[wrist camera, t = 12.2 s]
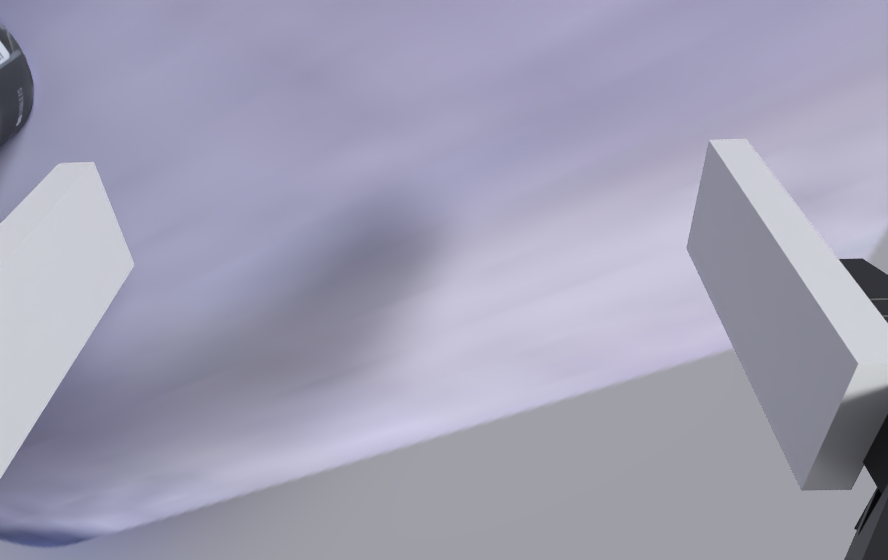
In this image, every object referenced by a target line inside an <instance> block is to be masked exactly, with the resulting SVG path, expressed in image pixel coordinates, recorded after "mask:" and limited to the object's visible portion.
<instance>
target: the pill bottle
mask: <svg viewBox="0 0 888 560" xmlns="http://www.w3.org/2000/svg"><path fill="white" fill-rule="evenodd" d="M32 103H33V80H32V76H31V72H30V69H29V66H28V64H27V61H26V58H25V56H24V54H23V52H22V50H21V48H20V47H19V45H18V43H17V42H16V40H15V39H14V37H13V36H12V35H11V34H10V32H9V31H8V30H7V29H6V27H5V26H4V25H3V24H2V23H1V22H0V146H2V145H3V144H4V143H5V142H6V141H7V140H8V139H9V138H10V137H12V136H13V135H14V134H15V133H17V132H18V131H19V130H20V128H21V127H22V126H23V125H24V123H25V122H26V120H27V118H28V117H29V114H30V111H31V108H32Z"/></svg>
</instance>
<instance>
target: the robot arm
mask: <svg viewBox="0 0 888 560" xmlns="http://www.w3.org/2000/svg"><path fill="white" fill-rule="evenodd" d="M687 250H688V253H689V255H690V257H691V259H692V261H693V263H694V265H695V267H696V269H697V271H698V274H699V276H700V278H701V280H702V282H703V284H704V286H705V288H706V290H707V293H708V295H709V297H710V299H711V301H712V303H713V305H714V307H715V309H716V312H717V314H718V316H719V318H720V320H721V322H722V324H723V326H724V328H725V330H726V333H727V335H728V337H729V339H730V341H731V343H732V345H733V347H734V349H735V352H736V354H737V356H738V358H739V360H740V362H741V364H742V366H743V368H744V370H745V373H746V375H747V377H748V379H749V381H750V383H751V385H752V387H753V389H754V392H755V394H756V396H757V398H758V400H759V402H760V404H761V406H762V408H763V410H764V413H765V415H766V417H767V419H768V421H769V423H770V425H771V427H772V429H773V432H774V434H775V436H776V438H777V440H778V442H779V444H780V446H781V448H782V451H783V453H784V455H785V457H786V459H787V461H788V463H789V465H790V467H791V470H792V472H793V474H794V476H795V478H796V480H797V482H798V484H799V486H800V489H801V490H851V489H852V487H853V485H854V483H855V482H856V480H857V478H858V476H859V474H860V472H861V470H862V468H863V466H864V465H865V466H866V468H867V470H868V472H869V473H870V475H871V477H872V479H873V480H874V482H875V484H876V486H877V489H876V490H875V492H874V494H873V496H872V498H871V499H870V501H869V503H868V505H867V506H866V508H865V510H864V512H863V514H862V516H861V517H860V519H859V521H858V523H857V525H856V526H855V529H856V530H857V532H856V534H855V536H854V538H853V541H852V543H851V545H850V548H849V551H848V552H847V555H846V557H845V559H844V560H888V275H887V274H885V273H884V272H882V271H881V270H879V269H878V268H876V267H875V266H873V265H872V264H870V263H868V262H867V261H865V260H864V259H838V258H837V256H836V255H835V254H834V253H833V251H832V250H831V249H830V247H829V246H828V245H827V243H826V242H825V241H824V240H823V238H822V237H821V236H820V234H819V233H818V232H817V230H816V229H815V228H814V226H813V225H812V224H811V223H810V221H809V220H808V219H807V217H806V216H805V215H804V213H803V212H802V211H801V210H800V208H799V207H798V206H797V204H796V203H795V202H794V200H793V199H792V198H791V197H790V195H789V194H788V193H787V191H786V190H785V189H784V187H783V186H782V185H781V183H780V182H779V181H778V180H777V178H776V177H775V176H774V174H773V173H772V172H771V170H770V169H769V168H768V167H767V165H766V164H765V163H764V161H763V160H762V159H761V157H760V156H759V155H758V153H757V152H756V151H755V150H754V148H753V147H752V146H751V144H750V143H749V142H748V140H747V139H725V140H709V143H708V148H707V152H706V157H705V162H704V167H703V172H702V176H701V181H700V186H699V191H698V196H697V200H696V205H695V210H694V215H693V220H692V224H691V229H690V234H689V239H688V244H687ZM133 267H134V262H133V260H132V257H131V255H130V252H129V250H128V247H127V244H126V242H125V239H124V237H123V234H122V232H121V229H120V227H119V224H118V222H117V219H116V217H115V214H114V212H113V209H112V207H111V204H110V202H109V199H108V196H107V194H106V191H105V189H104V186H103V184H102V181H101V179H100V176H99V174H98V171H97V169H96V166H95V164H94V162H78V163H59V164H58V165H57V166H56V167H55V168H54V169H53V170H52V171H51V172H50V173H49V174H48V175H47V176H46V177H45V178H44V179H43V180H42V181H41V182H40V183H39V184H38V185H37V187H36V188H35V189H34V190H33V191H32V192H31V193H30V194H29V195H28V196H27V197H26V198H25V199H24V200H23V201H22V202H21V203H20V204H19V205H18V206H17V207H16V208H15V209H14V210H13V211H12V212H11V213H10V214H9V215H8V216H7V217H6V218H5V219H4V221H3V222H2V223H1V224H0V478H1V477H2V475H3V474H4V472H5V471H6V469H7V467H8V466H9V464H10V463H11V461H12V459H13V458H14V456H15V455H16V453H17V451H18V450H19V448H20V447H21V445H22V443H23V442H24V440H25V439H26V437H27V435H28V434H29V432H30V431H31V429H32V428H33V426H34V424H35V423H36V421H37V420H38V418H39V416H40V415H41V413H42V412H43V410H44V408H45V407H46V405H47V404H48V402H49V400H50V399H51V397H52V396H53V394H54V392H55V391H56V389H57V388H58V386H59V385H60V383H61V381H62V380H63V378H64V377H65V375H66V373H67V372H68V370H69V369H70V367H71V365H72V364H73V362H74V361H75V359H76V357H77V356H78V354H79V353H80V351H81V349H82V348H83V346H84V345H85V343H86V342H87V340H88V338H89V337H90V335H91V334H92V332H93V330H94V329H95V327H96V326H97V324H98V322H99V321H100V319H101V318H102V316H103V314H104V313H105V311H106V310H107V308H108V306H109V305H110V303H111V302H112V300H113V299H114V297H115V295H116V294H117V292H118V291H119V289H120V287H121V286H122V284H123V283H124V281H125V279H126V278H127V276H128V275H129V273H130V271H131V270H132V268H133Z"/></svg>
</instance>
